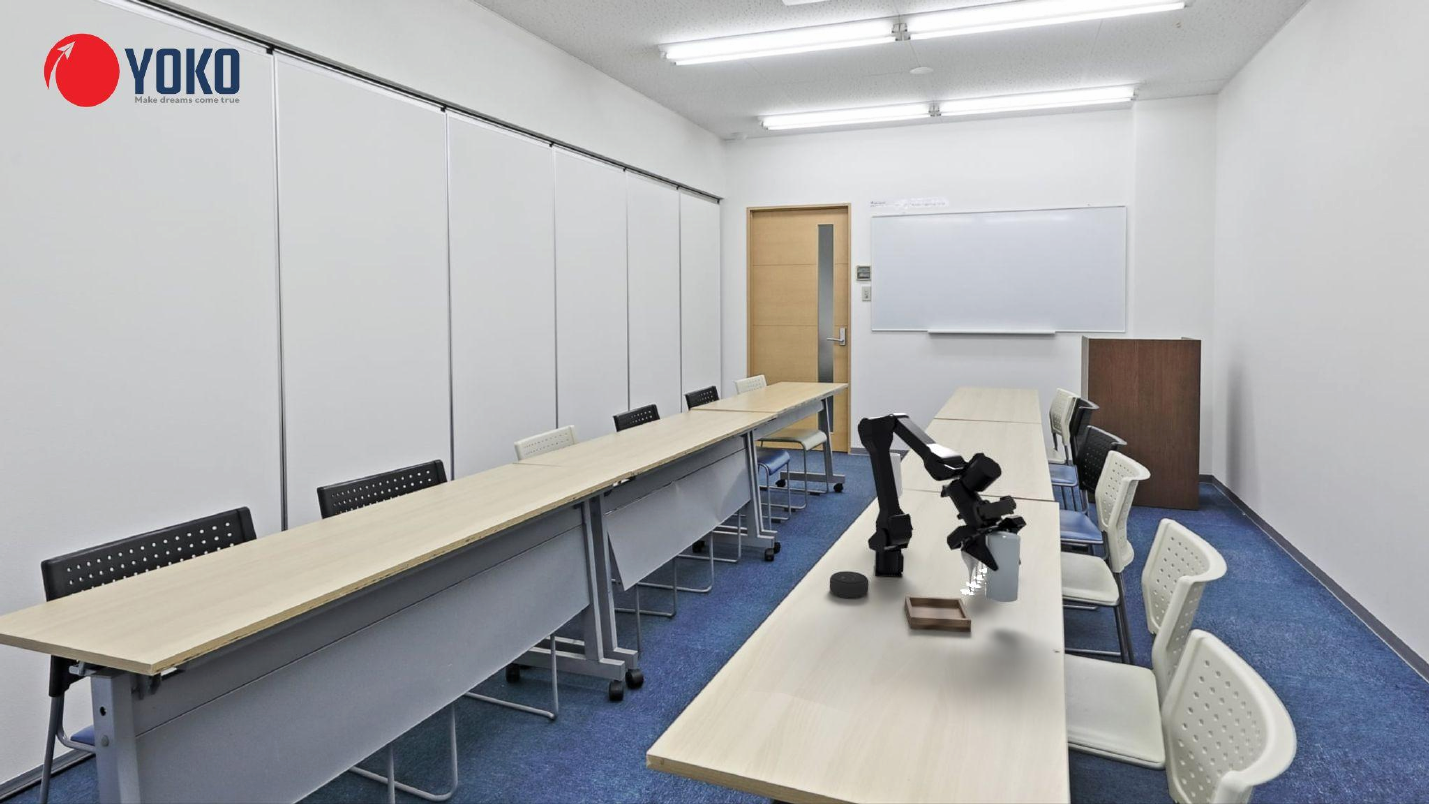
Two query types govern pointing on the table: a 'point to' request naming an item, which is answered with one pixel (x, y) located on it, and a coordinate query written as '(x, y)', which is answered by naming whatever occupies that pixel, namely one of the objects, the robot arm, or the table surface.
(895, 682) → the table surface
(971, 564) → the goblet set
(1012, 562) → the domed blue cylinder
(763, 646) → the table surface
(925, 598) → the tray
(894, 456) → the white tapered column
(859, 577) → the smart speaker
